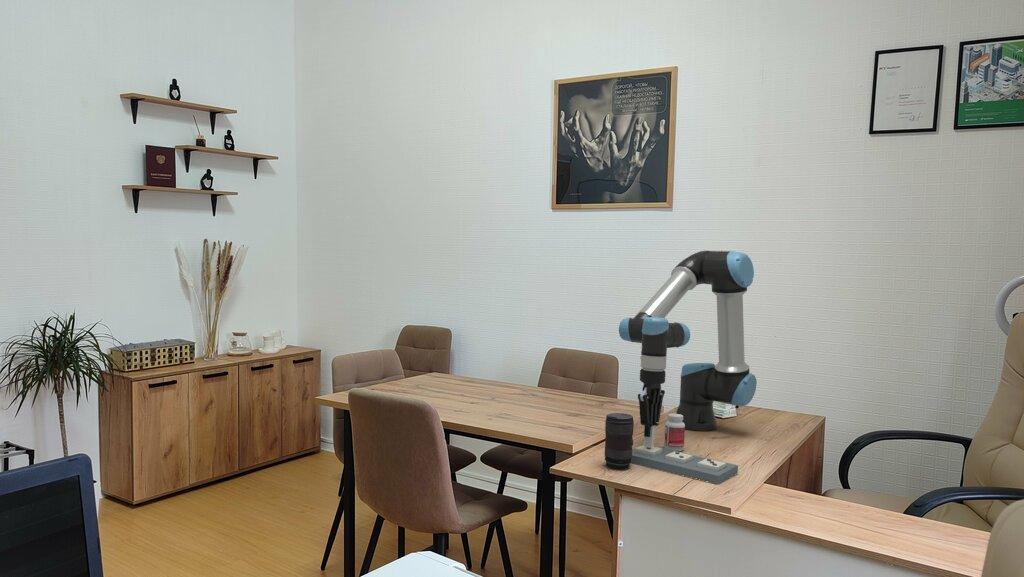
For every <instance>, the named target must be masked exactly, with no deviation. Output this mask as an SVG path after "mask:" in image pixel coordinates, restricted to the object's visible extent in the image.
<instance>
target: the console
mask: <svg viewBox="0 0 1024 577" xmlns="http://www.w3.org/2000/svg"><path fill="white" fill-rule="evenodd" d="M640 446H641V445H640ZM640 446H638V447H640ZM654 447H656V446H655V445H654ZM657 447H658V448H660V447H659V446H657ZM635 448H636V447H634V448H632V458H631V463H630V464H632V465H633V464H634V465H638V466H642V467H645V468H650V469H653V468H654V470H657V469H658V471H661V470H662V471H663V472H665V471H666V473H669V472H670V473H669V474H673V473H675V474H674V475H677V474H679V475H678V476H681V475H684V476H683V477H685V476H688V477H687V478H689V477H692V478H691V479H693V478H697V479H696V480H698V479H700V480H699V481H702V480H704V481H703V482H706V481H708V482H707V483H710V484H715V485H720V484H721V483H723V482H725V481H726V480H729V479H730V477H731V478H733V477H735V476H736V475H738V474H737V473H739V465H738V464H733V463H729V462H725V461H723V462H724V463H726V468H724V469H722V470H720V471H713V470H709V469H705V468H701V467H697V463H698V462H700V461H702V460H704V459H709V458H706V457H703V456H698V455H693V454H692V455H693V460H692V461H690V462H687V463H685V464H684V463H679V462H675V461H671V460H667V459H665V455H667V454H670V453H672V452H674V451H672V450H668V449H665V448H664V447H663V448H662V447H661V448H662V453H660V454H658V455H655V456H650V455H645V454H641V453H637V452H635ZM675 452H678V451H675ZM679 452H680V453H682V451H679ZM683 453H684V454H688V455H691V453H690V454H689V453H685V452H683ZM710 459H711V460H713V459H712V458H710ZM714 460H715V461H719V462H722V461H721V460H716V459H714ZM662 471H661V472H662ZM735 474H736V475H735Z"/></svg>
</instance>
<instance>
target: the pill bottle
mask: <svg viewBox="0 0 1024 577" xmlns="http://www.w3.org/2000/svg"><path fill="white" fill-rule="evenodd" d="M682 420H683V415H680V414H676V413H669V414H668V415H667V421H665V424H664V443H663V444H664V445H663V448H664V449H668V450H672V451H677V452H682V451H684V450H685V449H684V448H685V434H686V432H685V431H686V429H685V424H684V423H683V422H682Z"/></svg>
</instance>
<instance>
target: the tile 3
mask: <svg viewBox="0 0 1024 577" xmlns="http://www.w3.org/2000/svg"><path fill="white" fill-rule="evenodd" d="M711 459H712V458H708V459H704V460H702V461H700V462H698V463H697V467H701V468H705V469H709V470H713V471H720V470H722V469H724V468H726V463H727V462H726V463H724V462H725V461H721V462H719V461H720V460H717V461H715V460H716V459H712V460H711Z"/></svg>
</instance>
